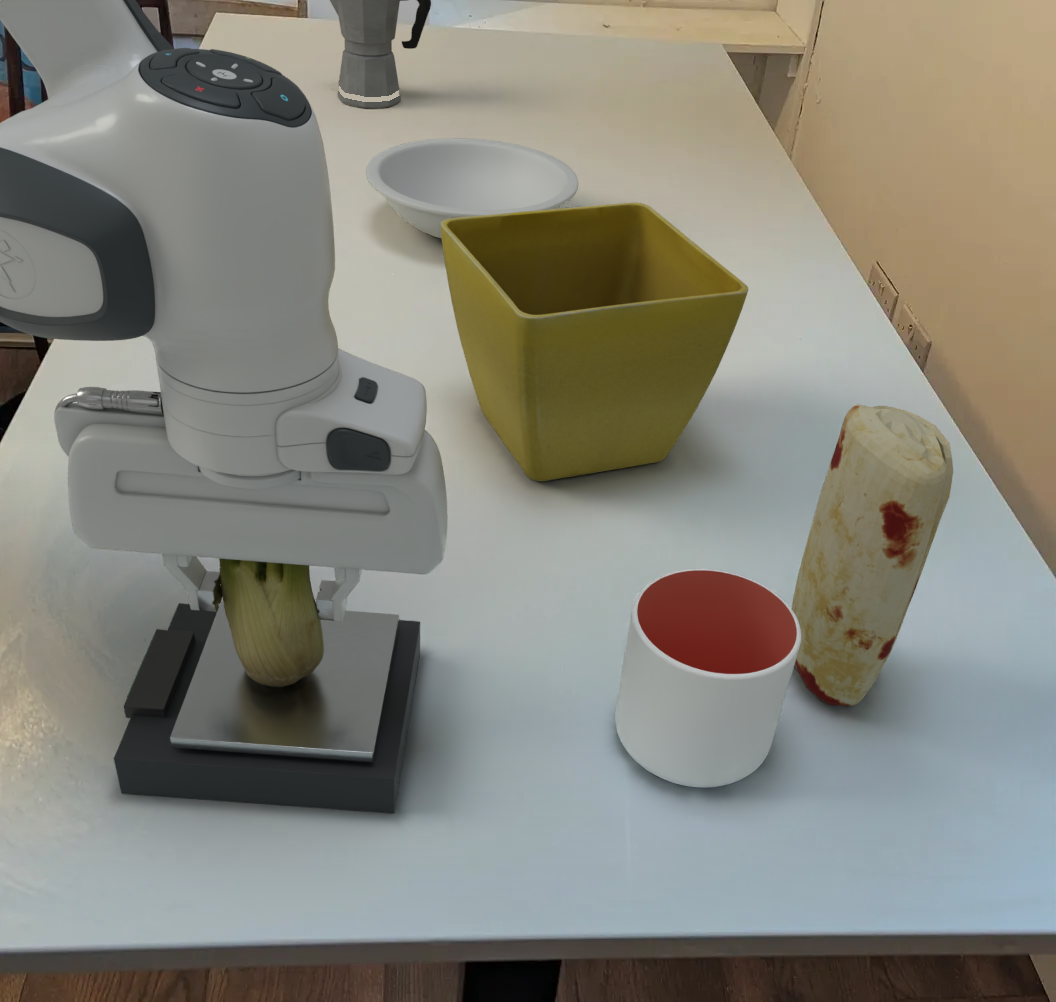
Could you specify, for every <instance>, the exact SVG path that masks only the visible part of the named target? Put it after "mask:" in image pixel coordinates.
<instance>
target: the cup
mask: <svg viewBox="0 0 1056 1002" xmlns="http://www.w3.org/2000/svg"><path fill="white" fill-rule="evenodd" d="M630 612H631V613H630V619H629V626H628V631H627V637H626V644H625V648H624V649H625V650H624V655H623V662H622V666H621V667H622V668H621V674H620V678H619V679H620V681H619V686H618V692H617V698H616V705H615V710H614V711H615V712H614V722H615V727H616V728H615V729H616V733H617V735H618V738H619V740H620V742H621V745H622V746H623V748H624V749H625V751H626V752H627V753H628V754H629V756H630V757H631V758H632V759H633V760H634V761H635V762H636V763H637V764H638V765H639V766H640V767H642V768H643V769H645V770H646V771H648V772H649V773H651V774H652V775H654V776H656V777H658V778H660V779H662V780H664V781H667V782H670V783H673V784H676V785H680V786H686V787H692V788H716V787H722V786H728V785H731V784H734V783H737V782H739V781H741V780H743V779H745V778H747V777H748V776H750V775H751V774H752V773H754V772H755V771H756V770H757V769H758V768H759V767H760V766H761V765H762V764H763V762H764V761H765V759H766V758H767V756H768V754H769V753H770V750H771V748H772V744H773V741H774V737H775V733H776V731H777V728H778V727H777V726H778V723H779V720H780V716H781V713H782V709H783V706H784V702H785V700H786V696H787V692H788V689H789V684H790V681H791V678H792V675H793V672H794V667H795V661H796V658H797V654H798V651H799V647H800V644H801V629H800V625H799V621H798V619H797V617H796V615H795V613H794V612H793V610H792V607H791V606H790V605H789V604H788V603H787V602H786V600H785V599H783V598H782V597H781V596H780V595H779V594H778V593H776V592H775V591H774V590H772V589H771V588H770V587H767V586H766V585H764V584H762V583H760V582H758V581H757V580H754V579H752V578H750V577H747V576H745V575H741V574H738V573H735V572H731V571H726V570H722V569H721V570H720V569H712V568H689V569H688V568H687V569H680V570H674V571H671V572H667V573H665V574H662V575H660V576H658V577H656V578H654V579H652V580H651V581H649V582H648V583H647V584H646V585H644V586H643V587H642V588H641V589H640V591H639V592H638V593H637V595H636V596H635V598H634V601H633V603H632V606H631V611H630Z"/></svg>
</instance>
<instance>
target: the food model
mask: <svg viewBox="0 0 1056 1002" xmlns="http://www.w3.org/2000/svg"><path fill="white" fill-rule="evenodd" d="M951 449H952V448H951V444H950V441H948V439H947V438H946V437H945V435H944V434H943V432H941V431H940V428H938V426H936V424H934V423H932V422H931V421H929V420H928V419H925V418H924V417H921V416H920V415H917V414H915V413H912V412H910V411H908V410H905V409H901V408H896V407H893V406H888V405H875V406H867V405H863V404H859V403H857V404H855V405H853V406H852V407H851V408H850V409H849V410H848V411H847V413H846V414H845V416H844V419H843V422H842V425H841V429H840V432H839V435H838V438H837V442H836V444H835V448H834V451H833V454H832V457H831V460H830V463H829V466H828V469H827V472H826V475H825V478H824V481H823V484H822V487H821V490H820V493H819V497H818V500H817V503H816V508H815V511H814V514H813V518H812V522H811V526H810V529H809V533H808V537H807V540H806V544H805V548H804V550H803V555H802V558H801V563H800V567H799V570H798V573H797V578H796V583H795V586H794V592H793V597H792V604H791V609H792V610H793V612H794V613H795V615H796V617H797V619H798V621H799V625H800V629H801V644H800V647H799V651H798V654H797V658H796V661H795V665H794V667H795V669H796V671H797V672H798V675H799V676H800V679H801V680H802V681H803V683H804V685H805V687H806V689H808V690H809V691H810V692H811V693H812V694H813V695H814V696H815V697H817V699H818V700H820V701H822V702H824V703H825V704H827V705H829V706H844V707H851V706H856V705H857V704H859V703H861V701H863V700H864V698H865V696H866V695H867V694H868V692H870V690H871V688H872V687H873V686H874V684H875V682H876V681H877V679H878V677H879V675H880V673H881V672H882V670H883V668H884V666H885V663H886V662H887V660H888V658H889V657H890V654H891V652H892V650H893V648H894V646H895V643H896V641H897V638H898V636H899V634H900V630H901V628H902V625H903V623H904V620H905V617H906V614H907V612H908V609H909V607H910V604H911V602H912V599H913V596H914V594H915V591H916V590H917V586H918V583H919V580H920V578H921V575H922V572H923V570H924V566H925V564H926V561H927V559H928V555H929V553H930V550H931V547H932V545H933V542H934V539H935V536H936V534H937V531H938V528H939V525H940V522H941V519H942V517H943V514H944V512H945V509H946V507H947V505H948V502H949V499H950V497H951V490H952V483H953V475H954V464H953V463H954V462H953V455H952V450H951Z"/></svg>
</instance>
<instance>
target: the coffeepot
mask: <svg viewBox="0 0 1056 1002" xmlns="http://www.w3.org/2000/svg"><path fill="white" fill-rule="evenodd" d="M402 1H404V2H405V1H408V0H329V2H330V3H331V5H332V7H333V9H334V11H335V13H336V14H337V17H338V21H339V22H338V23H339V29H340V35H341V36H342V37H343V39H344V50H343V51H342V55H341V56H342V57H341V63H340V71H339V77H338V78H339V79H338V86H340V87H341V89H342V90H343V91H344V92H345V93H349V94H355V95H360V96H364V97H381V96H389V95H392V94H393V93H395V92H396V91H398V90H400V84H399V78H398V71H397V66H396V58H395V54H394V52H393V50H392V49H393V47H392V44H393V43H392V42H393V41H394V40H395V38H396V32H397V25H398V17H399V10H400V2H402ZM416 1H417V3H418V7H417V9H416V13H415V19H414V23H413V24H412V27H411V31H410V32H411V33H410V34H411V35H410V39H409V40H402V41H401V45H402V48H403V49H407V50H409V49H411V50H412V49H417V47H418V45H419V42H420V39H421V36H422V33H423V30H424V28H425V24H426V22H427V20H428V19H427V18H428V15H429V13H430V10H431V6H432V0H416ZM336 94H337V96H338V98H339V101H340V102H341V103H343V104H345V105H347V106H350V107H354V108H360V109H373V110H374V109H375V110H376V109H385V108H390V107H394V106H396V105H398V103H399V102H400V101H401V100H402V96H401V95H400V96H398V97H396V98H394V99H392V100H390V101H382V102H362V101H357V100H352V99H348V98H344V97H343V96H342V95H341V94H340V92H339V91H338V90H337V93H336Z"/></svg>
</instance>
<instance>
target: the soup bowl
mask: <svg viewBox="0 0 1056 1002" xmlns="http://www.w3.org/2000/svg"><path fill="white" fill-rule="evenodd" d="M365 176H366V180H367V182H368V183H369V185H370V186H371V187H372V188H373V189H374V190H375V191H376V192H377V193H378V194H380V195H381V196H383V197H385V199H386V201H387V202H388V204H389V205H390V207H391V208H392V210H394V211H395V213H396V214H398V216H399V217H401V219H402V220H403V221H405V222H407V224H409V225H411V226H412V227H413V228H415V229H417V230H418V231H421V232H423V233H424V234H426V235H428V236H429V235H430V236H432V237H435V238H438V239H441V240H442V237H441V224H440V223H441V222H442V221H443V220H446V219H450V218H459V217H470V216H481V215H492V214H503V213H515V212H525V211H536V210H548V209H559V207H561V206H563V205H564V204H566V203H568V202H569V201H570V200H572V199H573V198H574V196H575V195H576V194H577V192H578V190H579V178H578V175H577V174H576V172H575V171H574V170H573V169H572V168H571V166H570V165H568V164H567V163H565V162H564V161H562V160H560V159H559V158H557V157H555V156H553V155H550V154H548V153H546V152H543V151H541V150H538V149H536V148H531V147H529V146H525V145H521V144H516V143H512V142H506V141H502V140H501V141H500V140H494V139H485V138H484V139H483V138H471V137H470V138H469V137H444V138H443V137H442V138H430V139H422V140H421V139H420V140H415V141H410V142H406V143H405V142H404V143H401V144H398V145H394V146H391V147H388V148H387V149H384V150H382V151H380V152H379V153H377V154H376V155H374V156H373V157H372V158H371V159H370V160H369V161H368V163H367V165H366V168H365Z"/></svg>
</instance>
